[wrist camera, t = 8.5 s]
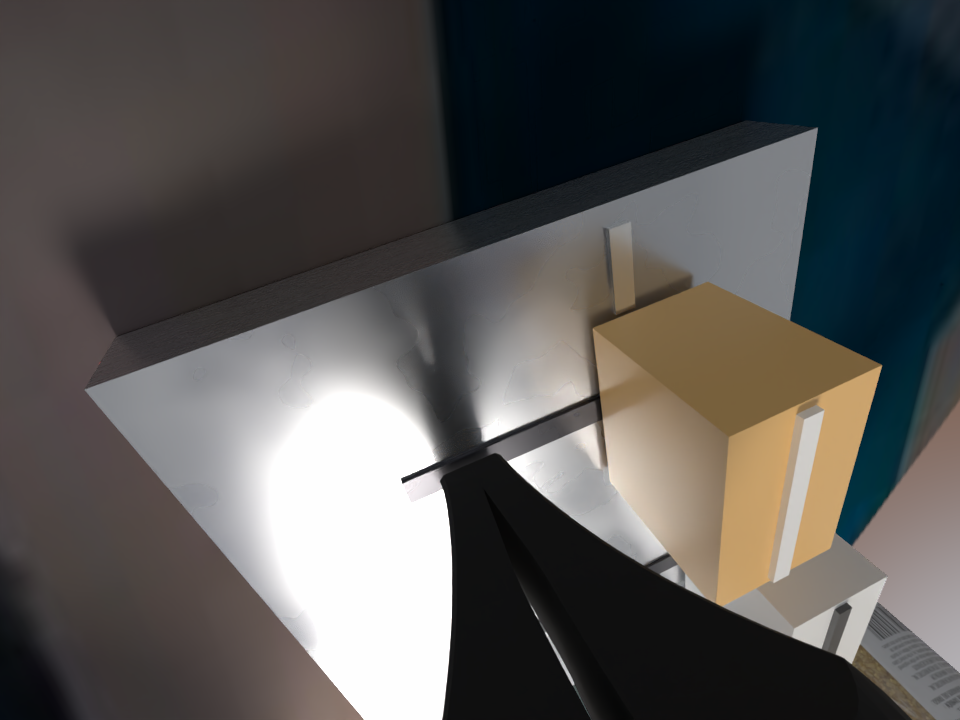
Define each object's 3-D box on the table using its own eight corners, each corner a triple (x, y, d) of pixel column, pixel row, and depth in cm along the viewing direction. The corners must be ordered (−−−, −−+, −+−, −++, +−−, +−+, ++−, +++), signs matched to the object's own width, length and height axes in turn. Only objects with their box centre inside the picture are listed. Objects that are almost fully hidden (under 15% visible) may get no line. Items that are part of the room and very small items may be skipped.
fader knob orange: (609, 481, 14) (720, 616, 10) (592, 328, 11) (736, 443, 8) (702, 438, 14) (837, 553, 11) (707, 281, 11) (891, 369, 8)
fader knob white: (684, 599, 18) (777, 717, 15) (686, 513, 16) (799, 634, 12) (751, 563, 19) (855, 670, 16) (764, 475, 16) (893, 580, 13)
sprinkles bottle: (709, 587, 24) (1083, 1029, 13) (775, 517, 23) (1244, 933, 12) (754, 599, 26) (1101, 979, 15) (816, 536, 25) (1236, 896, 14)
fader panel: (398, 714, 20) (410, 776, 18) (116, 337, 10) (82, 393, 8) (715, 551, 22) (753, 592, 21) (745, 120, 12) (822, 128, 11)
